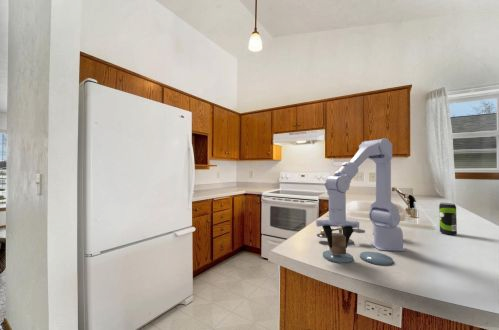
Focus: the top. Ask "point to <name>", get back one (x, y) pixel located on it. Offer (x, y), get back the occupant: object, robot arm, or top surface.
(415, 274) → the top surface
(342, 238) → the walnut block
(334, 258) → the dish
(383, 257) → the dish
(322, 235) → the balance
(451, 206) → the beverage can
